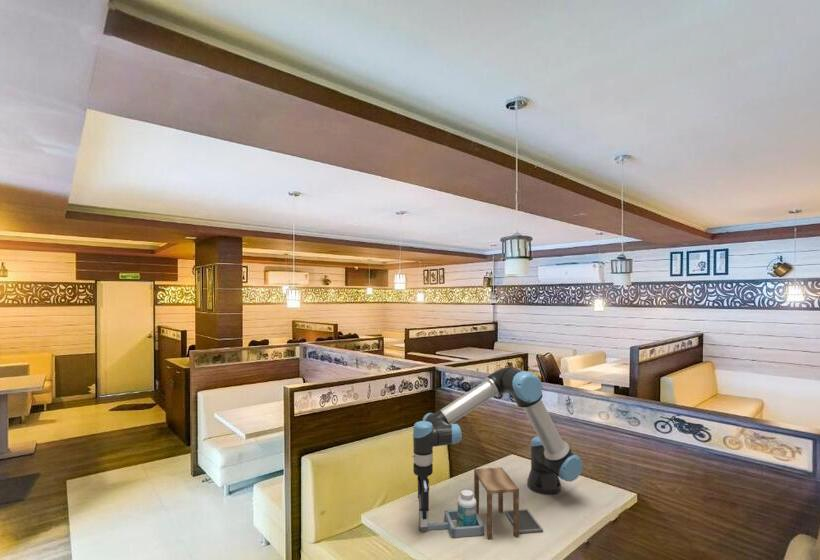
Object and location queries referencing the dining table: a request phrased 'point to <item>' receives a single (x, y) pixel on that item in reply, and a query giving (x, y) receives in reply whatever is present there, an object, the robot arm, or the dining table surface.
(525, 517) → the dark grey flat plate
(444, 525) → the grey frame on stick
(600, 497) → the dining table surface
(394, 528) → the dining table surface
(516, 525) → the tunnel
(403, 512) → the dining table surface
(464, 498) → the pill bottle
